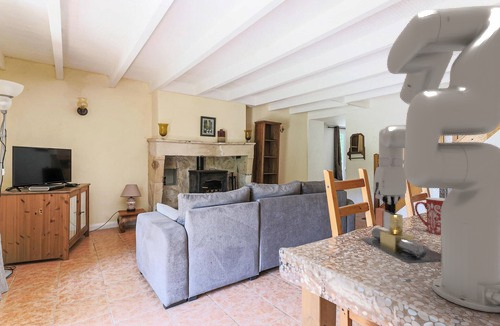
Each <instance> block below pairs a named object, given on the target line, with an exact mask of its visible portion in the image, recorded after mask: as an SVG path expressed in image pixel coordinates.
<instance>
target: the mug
mask: <svg viewBox="0 0 500 326" xmlns="http://www.w3.org/2000/svg"><path fill="white" fill-rule="evenodd" d="M445 198H446V197H445ZM445 198H444V197H425V201H426V202H425V201H417V202H416V203H415V205H414V210H415V213H416V215H417V217H418V218H419V220H420V221H421V222H422V223H423V225H425V226H426V228H427V232H428V233H430V234H434V235H440V236H441V207H442V204H443V202H444V200H445ZM420 204H422V205H423V206H424V208H425V210H426V221H425V219H424V218H423V217H422V216H421V214H420V213H419V211H418V205H420Z"/></svg>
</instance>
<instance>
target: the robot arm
mask: <svg viewBox="0 0 500 326" xmlns="http://www.w3.org/2000/svg"><path fill="white" fill-rule="evenodd" d="M454 52H459V54H458V55H457V56H456V58H455V59H454V61H453V63H452V64H451V67H450V73H449V84H448V87H443V88H442V87H441V88H439V87H440V85H441V83H442V80H443V78H444V76H445V73H446V72H447V71H446V70H447V68H448V66H449V64H450V61H451V60H452V57H453V55H454ZM386 60H387V61H386V66H387V70H388V72H389V73H390V74H393V75H405V78H404V81H403V83H402V87H401V89H400V92H399V97H400V99H401V101H403V103H405V104H407V105H409V106H408V109H407V112H406V121H405V124H391V125H388V126H385V128H382V129H380V130H379V134H378V166H376V169H375V173H374V177H373V189H372V190H373V191H372V192H373V193H374V194H375V199H378V200H381V201H382V203H383V204H384V209H385V210H388V211H389V212H392V213H395V214H396V211H397V210H396V205H398V202H399V201H400V200H402V199H405V198H406V194H407V189H408V188H407V184H408V183H409V184H410V185H412V186H413V187H417V188H421V189H422V188H423V189H451V190H450V192H448V194H447V196H446V197H445V200H444V202H443V204H442V207H441V235H440V254H441V261H440V277H438V278H435V279H434V280H432V282H431V284H432V285H431V287H432V290H433V291H434V293H436V294H437V295H438V296H439V297H441V298H443V299H444V300H447V301H449V302H451V303H453V304H456V305H458V306H461V307H465V308H467V309H470V310H475V311H481V312H488V313H500V147H498V146H497V145H494V144H491V143H488V142H479V141H469V142H468V141H460V142H459V141H452V142H440V138H441V137H442V136H443V137H449V136H454V137H455V136H457V137H459V136H460V137H461V136H478V135H479V136H480V135H485V134H489V133H492V132H493V131H495V130H496V129H498V127H499V125H500V5H478V6H477V5H475V6H460V7H453V8H449V7H448V8H435V9H434V8H433V9H428V10H427V9H425V10H423V11H420V12H419V13H417V14H415V15H414V16H412V18H411V19H410V20H409V21H408V23H407V25H406V26H405V27H404V28H403V30H402V31H401V32H400V33H399V35H398V36H397V37H396V38H395V41H394V42H393V44H392V46H391V48H390V50H389V52H388V55H387V59H386ZM407 182H408V183H407Z"/></svg>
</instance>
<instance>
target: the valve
mask: <svg viewBox="0 0 500 326" xmlns="http://www.w3.org/2000/svg"><path fill="white" fill-rule="evenodd" d="M371 236H372V237H367V238H365V237H364V238H361V241H362V242H363V243H364V242H365V243H366V244H368V245H371V246H372V247H374V248H377V249H379V250H381V251H382V252H384V253H387V254H388V255H391V257H395V258H397V259H398V260H401V261H403V262H404V263H407V264H417V263H431V262H432V263H433V262H441V252H437V251H434V250H432V249H430V248H427V247H426V246H425V245H423V244H420V243H417V242H415V241H414V236H413V235H412V234H408V233H406V232H403V233H402V234H394V233H391V232H390V230H383V229H381V228H378V227H375V228H373V229H372V230H371Z"/></svg>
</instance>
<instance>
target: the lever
mask: <svg viewBox="0 0 500 326" xmlns="http://www.w3.org/2000/svg"><path fill="white" fill-rule="evenodd" d="M403 217H404V216H403V214H401V213H396V212H395V213H392V212H389V211H388V210H385V208H381V207H380V208H379V207H375V225H377V226H379V227H381V228H384V229H386V230H387V231H390V232H391V233H394V234H402V233H404V231H403V229H404V228H403V223H404V221H403V220H404V219H403Z"/></svg>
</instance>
